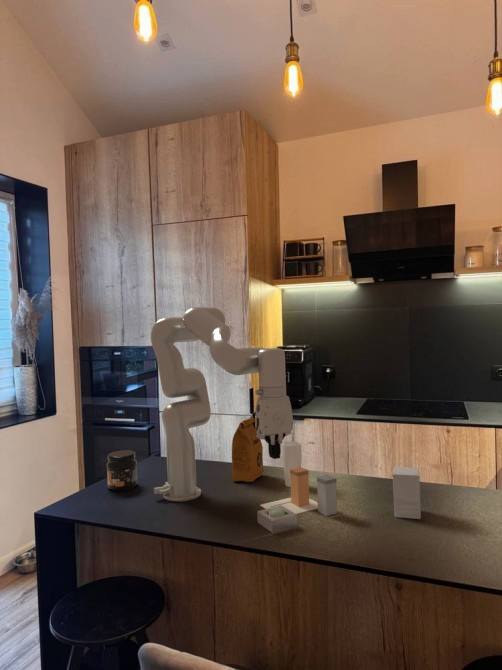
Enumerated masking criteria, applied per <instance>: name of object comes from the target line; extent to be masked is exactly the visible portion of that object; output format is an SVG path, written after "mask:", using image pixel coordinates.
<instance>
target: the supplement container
mask: <svg viewBox="0 0 502 670" xmlns="http://www.w3.org/2000/svg"><path fill="white" fill-rule="evenodd" d="M135 458H136V452H135V451H133V450H123V449H122V450H116V451H112V452H110V453H109V454H107V461H108V462H107V463H106V472H107V473H106V474H107V487H108V489H109V490H111V491H114V492H115V491H116V492H118V491H127V490H131V489H133V488H135V487H136V486H137V484H138V470H137V469H138V468H137V465H138V462H137V459H135Z"/></svg>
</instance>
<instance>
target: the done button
mask: <svg viewBox="0 0 502 670" xmlns="http://www.w3.org/2000/svg"><path fill="white" fill-rule="evenodd" d="M269 515H270V516H271V517H273V518H275V517H279V516H283V515H285V513H284V509H282V508H272V509H270V510H269Z"/></svg>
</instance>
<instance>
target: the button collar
mask: <svg viewBox="0 0 502 670" xmlns="http://www.w3.org/2000/svg"><path fill="white" fill-rule="evenodd" d="M272 508H282V509H284V513H285V515H283V516H279V517H275V518H273V517H271V516H270V515H269V510H270V509H272ZM272 508H268V509H265V508H263V509H262V510H261V509H260V510H257V512H256V513H257V516H256V517H257V523H258V524H259V525H260V526H262V527H263V528H264V529H266V530H268V531H269V532H270V533H271V534H277V533H280V532H284V531H287V530H291V529H293V528H297V527H298V521H297V515H298V514H295V513H293V512H292V511H290V510H288V509H287V508H285V507H283V506H281V505H280V506H276V507H272Z"/></svg>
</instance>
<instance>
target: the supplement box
mask: <svg viewBox="0 0 502 670" xmlns="http://www.w3.org/2000/svg"><path fill="white" fill-rule="evenodd" d="M420 479H421V477H420V471H419V468H417V467H402V466H401V467H400V466H394V467H393V470H392V489H393V491H392V492H393V508H394V510H393V513H394V518H402V519H413V520H414V519H415V520H421V518H422V513H421V512H422V506H421V505H422V503H421V485H420V484H421V483H420V482H421V480H420Z"/></svg>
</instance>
